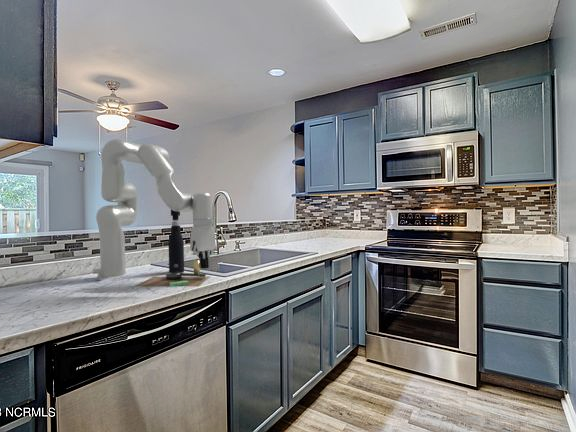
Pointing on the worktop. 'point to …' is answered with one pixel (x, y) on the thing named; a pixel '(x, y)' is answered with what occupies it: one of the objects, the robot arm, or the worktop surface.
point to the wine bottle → (176, 246)
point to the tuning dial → (179, 274)
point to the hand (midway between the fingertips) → (204, 267)
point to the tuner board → (174, 281)
